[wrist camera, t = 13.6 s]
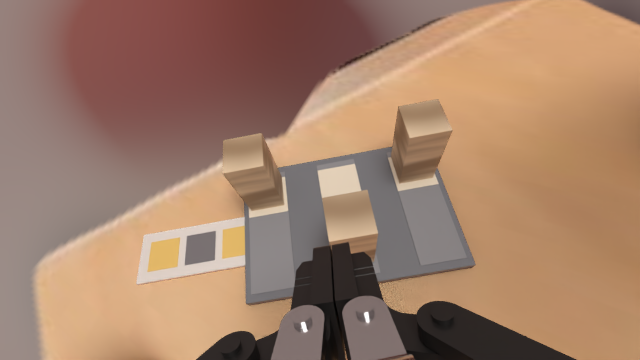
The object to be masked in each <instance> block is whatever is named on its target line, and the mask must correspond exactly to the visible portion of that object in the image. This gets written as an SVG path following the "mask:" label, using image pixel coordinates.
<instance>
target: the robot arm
mask: <svg viewBox="0 0 640 360" xmlns="http://www.w3.org/2000/svg"><path fill="white" fill-rule="evenodd" d="M344 345H345V346H344ZM345 349H346V354H347V359H348V360H576V359H574V358H572V357H569V356H567V355H565V354H563V353H561V352H558V351H556V350H554V349H552V348H550V347H548V346H545V345H543V344H541V343H539V342H537V341H534V340H532V339H530V338H528V337H526V336H523V335H521V334H519V333H517V332H515V331H512V330H510V329H508V328H506V327H504V326H502V325H499V324H497V323H495V322H493V321H491V320H488V319H486V318H484V317H482V316H480V315H477V314H475V313H473V312H471V311H469V310H466V309H464V308H462V307H460V306H458V305H455V304H453V303H450V302H445V301H434V302H429V303H427V304H425V305H423V306H422V307H420V309H419V310H418V312H417V315H416V314H406V313H401V312H397V311H395V310H393V309H391V308H390V307H388V306H387V305H386V303H385V302H384V300H383V298H382V294H381V291H380V287H379V284H378V281H377V277H376V274H375V270H374V267H373V263H372V260H371V257H369V256H368V255H367V254H366V253H365V252H358V253H352V254H351V251H350V246H349V242H345V243H339V244H333V245H332V249H331V245H328V246H322V247H316V248H313V259H312V260H311V261H305V262H302V263H301V265H300V266H299V267H298V269H297V270H296V277H295V284H294V291H293V298H292V305H291V311H289V312H288V313H287V314H286V315H285V316H284V317H283V319H282V321H281V324H280V327H279V330H278V331H276V332H275V333H273V334H271V335H269V336H266V337H264V338H261V339H259V340H257V341H256V340H255V338H254V336H253V335H252V334H251V333H249V332H246V331H238V332H233V333H231V334H228V335H226V336H225V337H223V338H221V339H220V340H219V341H218V342H216V343H215V344H214V345H213V346H212V347H210V348H209V349H208V350H207V351H206V352H205V353H203V354H202V355H201V356H200V357H199V358H197V359H196V360H346V358H345Z"/></svg>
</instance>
